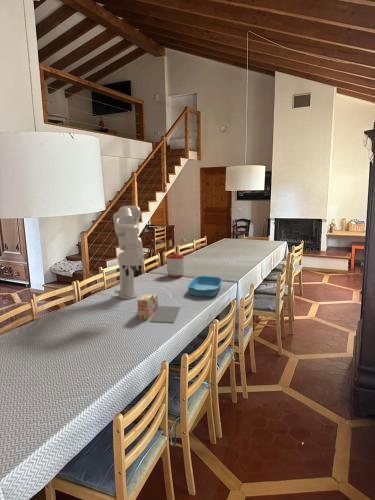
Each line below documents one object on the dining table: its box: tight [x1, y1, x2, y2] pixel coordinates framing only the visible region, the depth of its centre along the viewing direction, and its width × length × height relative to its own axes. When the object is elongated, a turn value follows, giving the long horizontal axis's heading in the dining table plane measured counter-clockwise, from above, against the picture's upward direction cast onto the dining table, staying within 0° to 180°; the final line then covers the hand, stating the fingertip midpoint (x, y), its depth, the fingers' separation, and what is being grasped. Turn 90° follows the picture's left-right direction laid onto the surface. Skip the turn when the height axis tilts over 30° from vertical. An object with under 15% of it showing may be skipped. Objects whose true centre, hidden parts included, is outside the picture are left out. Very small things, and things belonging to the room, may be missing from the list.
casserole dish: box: [187, 275, 223, 298], centre depth 266 cm, size 37×22×7 cm, turn 166°
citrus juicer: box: [164, 252, 186, 278], centre depth 306 cm, size 16×17×20 cm
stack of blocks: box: [136, 293, 159, 321], centre depth 220 cm, size 21×6×12 cm, turn 169°
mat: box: [149, 305, 181, 324], centre depth 219 cm, size 14×26×1 cm, turn 173°
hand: (132, 275), depth 217 cm, fingers open, 5 cm apart
